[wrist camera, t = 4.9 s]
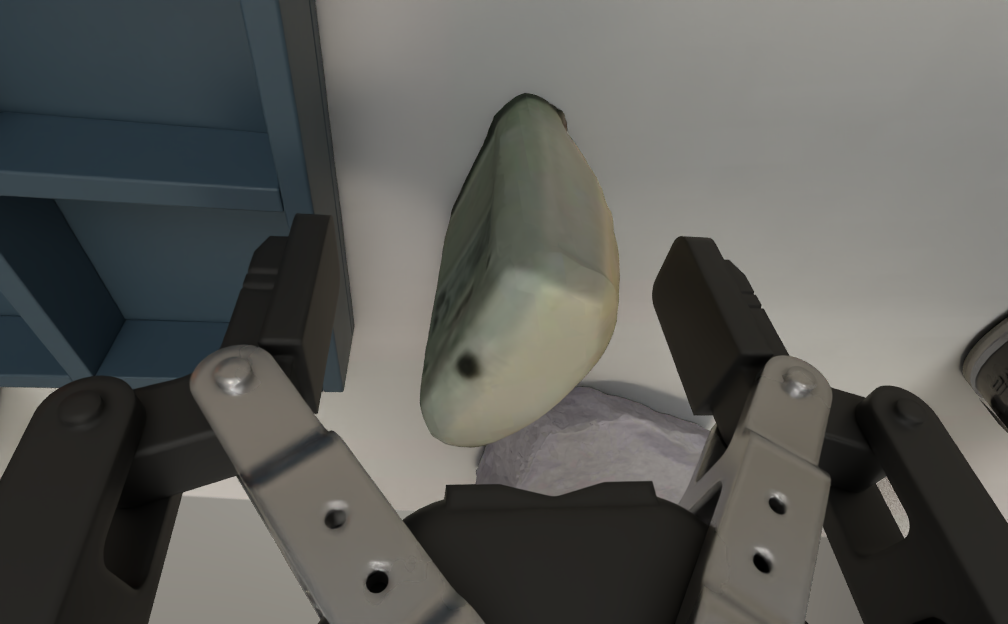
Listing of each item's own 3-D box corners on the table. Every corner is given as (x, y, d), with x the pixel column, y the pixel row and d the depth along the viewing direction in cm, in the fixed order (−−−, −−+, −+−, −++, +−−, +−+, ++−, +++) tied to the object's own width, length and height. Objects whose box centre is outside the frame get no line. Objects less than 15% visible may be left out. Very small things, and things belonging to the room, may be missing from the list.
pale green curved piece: (392, 86, 14) (355, 315, 8) (592, 53, 13) (687, 268, 8) (441, 250, 18) (437, 472, 13) (594, 228, 18) (656, 444, 12)
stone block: (510, 349, 25) (463, 479, 30) (531, 427, 21) (472, 560, 27) (719, 372, 28) (643, 485, 34) (769, 442, 25) (674, 557, 30)
